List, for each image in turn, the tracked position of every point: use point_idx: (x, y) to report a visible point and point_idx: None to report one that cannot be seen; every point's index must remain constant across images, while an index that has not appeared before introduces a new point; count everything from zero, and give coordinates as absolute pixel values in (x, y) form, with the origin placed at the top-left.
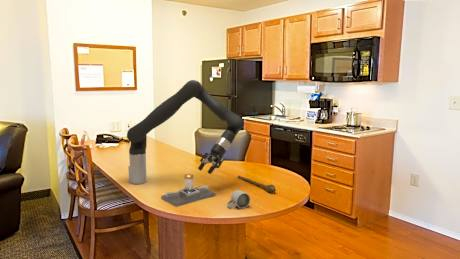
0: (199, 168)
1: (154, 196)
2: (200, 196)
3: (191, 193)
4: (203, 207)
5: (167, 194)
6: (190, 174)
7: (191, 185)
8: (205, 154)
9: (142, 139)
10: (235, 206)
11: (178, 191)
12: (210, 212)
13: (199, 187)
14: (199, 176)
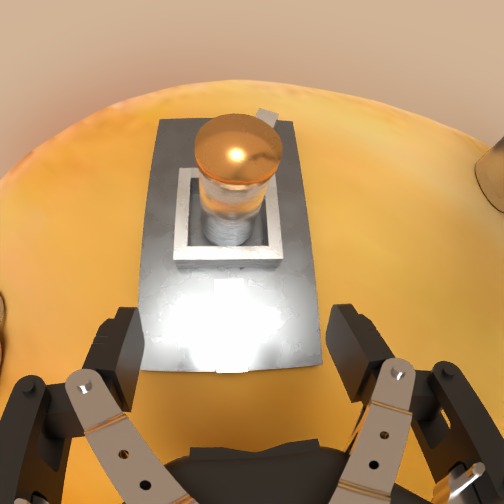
0: (334, 315)
1: (330, 128)
2: (147, 251)
3: (177, 198)
4: (66, 206)
5: (256, 116)
6: (248, 164)
7: (199, 191)
8: (496, 466)
9: None
10: None
11: None
12: (19, 200)
13: (235, 300)
14: None
